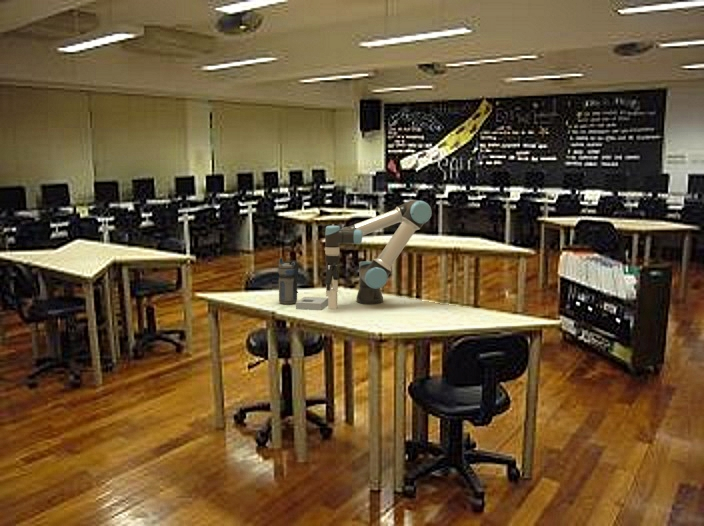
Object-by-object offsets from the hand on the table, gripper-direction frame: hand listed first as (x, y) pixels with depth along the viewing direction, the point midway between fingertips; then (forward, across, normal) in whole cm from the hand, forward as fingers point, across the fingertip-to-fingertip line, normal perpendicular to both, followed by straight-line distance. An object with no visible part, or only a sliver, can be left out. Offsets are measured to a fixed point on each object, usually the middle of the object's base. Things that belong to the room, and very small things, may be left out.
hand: (332, 294), depth 334 cm
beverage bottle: (+8, -8, -27) cm, 29 cm away
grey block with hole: (+8, -2, -12) cm, 14 cm away
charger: (+8, 0, 0) cm, 8 cm away
